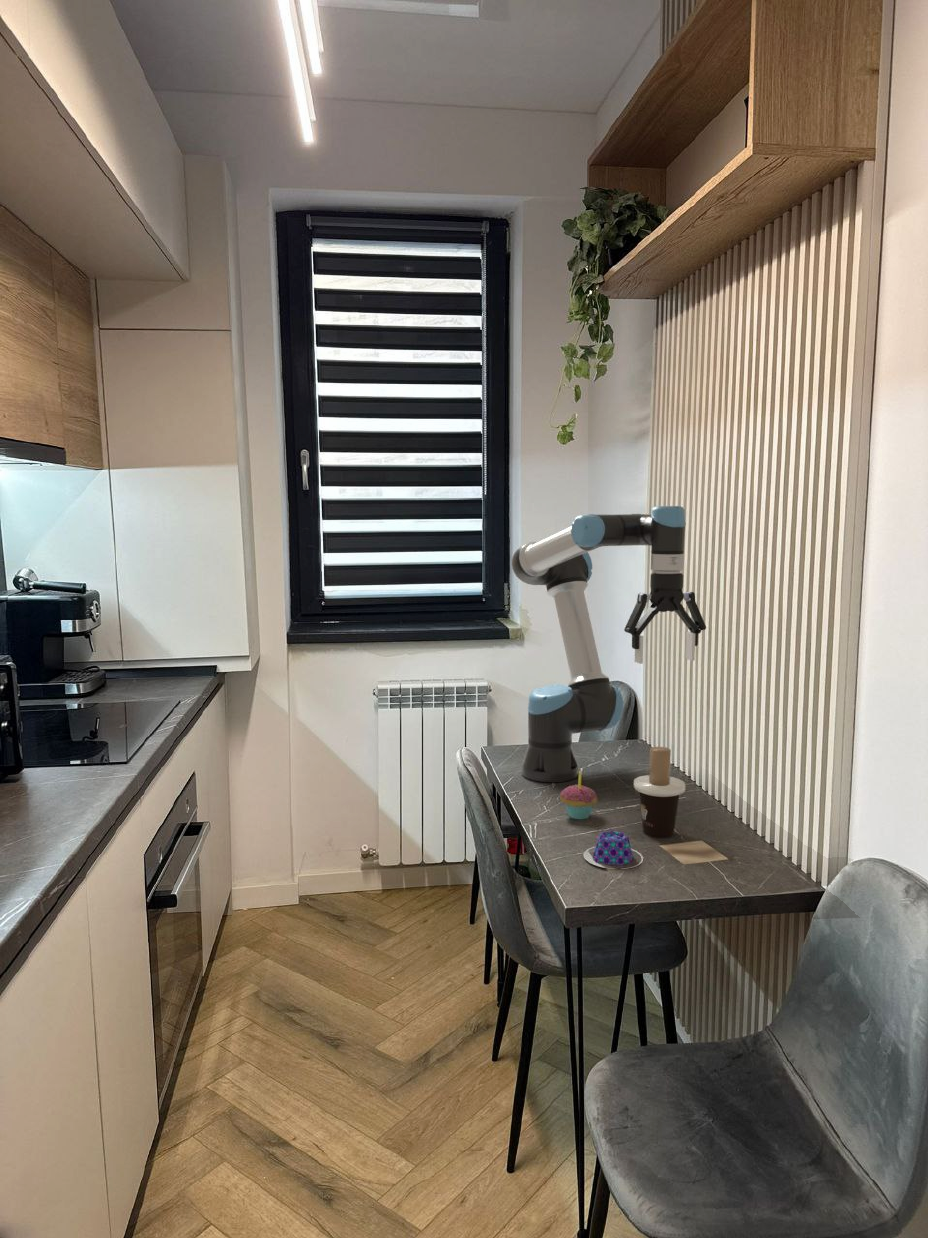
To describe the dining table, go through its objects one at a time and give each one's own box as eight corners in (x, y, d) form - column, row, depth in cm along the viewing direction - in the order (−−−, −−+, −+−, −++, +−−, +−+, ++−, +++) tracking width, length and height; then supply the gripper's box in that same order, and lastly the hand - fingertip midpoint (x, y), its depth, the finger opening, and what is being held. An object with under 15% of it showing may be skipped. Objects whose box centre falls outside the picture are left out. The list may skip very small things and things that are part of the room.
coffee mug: (679, 843, 180) (680, 798, 178) (638, 840, 181) (639, 795, 180) (676, 823, 191) (678, 780, 190) (638, 821, 193) (639, 778, 191)
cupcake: (600, 822, 192) (601, 771, 190) (563, 823, 192) (563, 771, 190) (592, 808, 200) (593, 760, 199) (557, 809, 200) (557, 760, 198)
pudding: (625, 878, 164) (626, 852, 163) (572, 862, 171) (572, 837, 170) (653, 858, 173) (654, 833, 172) (601, 843, 180) (602, 820, 180)
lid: (625, 782, 189) (625, 744, 187) (669, 778, 191) (670, 741, 190) (648, 798, 178) (649, 758, 177) (694, 793, 181) (696, 754, 180)
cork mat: (659, 847, 177) (659, 845, 177) (701, 842, 180) (701, 840, 180) (684, 866, 168) (684, 864, 168) (728, 860, 170) (728, 859, 170)
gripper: (625, 574, 191) (623, 666, 194) (722, 571, 197) (719, 661, 200) (611, 572, 198) (609, 661, 201) (705, 569, 205) (702, 655, 207)
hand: (664, 661), depth 200 cm, fingers open, 13 cm apart
